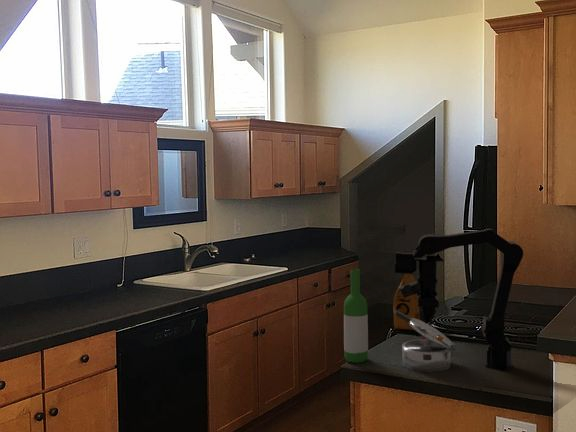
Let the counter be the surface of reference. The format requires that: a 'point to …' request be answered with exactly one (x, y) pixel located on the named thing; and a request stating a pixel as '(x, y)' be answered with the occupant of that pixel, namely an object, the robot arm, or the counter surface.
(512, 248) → the robot arm
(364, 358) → the wine bottle
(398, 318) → the coffee package
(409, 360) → the cooker pot
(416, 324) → the lid
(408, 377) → the counter surface
